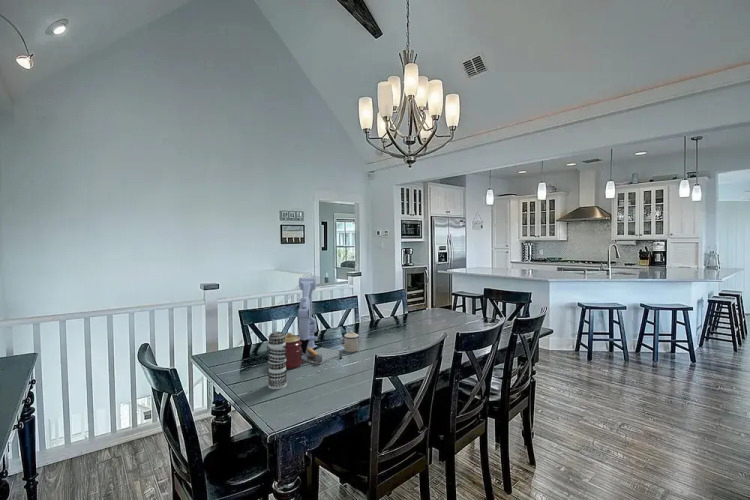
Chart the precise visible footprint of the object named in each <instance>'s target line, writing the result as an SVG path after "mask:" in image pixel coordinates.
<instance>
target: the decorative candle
mask: <svg viewBox="0 0 750 500" xmlns="http://www.w3.org/2000/svg"><path fill="white" fill-rule="evenodd" d="M286 335H287V334H285V333H284V332H282V331H273V332H271V333H270V334H269V335H268V336H267V337H268V345H267V346H266V349H267V351H266V352H267V354H266V355H267V362H268V372H267V373H268V375H267V378H268V379H267V380H268V382H267V384H268V388H269V389H271V390H279V389H280V390H281V389H284V388H285V387H286V386H287V385H288V384H287V381H288V379H287V378H288V377H287V371H288V369H287V368H286V366H285V362H286V358H287V357H286V356H285V355H286V354H287V352H285V351H287V349H286V347H287V345H286V342H285V336H286Z"/></svg>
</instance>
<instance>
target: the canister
mask: <svg viewBox="0 0 750 500" xmlns="http://www.w3.org/2000/svg"><path fill="white" fill-rule="evenodd" d="M285 335H286V336H285V342H286V345H287V347H286V349H287V351H285V352H287V354H286V355H285V356H286V357H287V358H286V362H285V366H286V369H296V368H298V367H301V365H302V364H303V361H302V356H303V355H302V354H303V351H302V348H301V344H302V342H301V341H300V337H298V336H299V335H296V334H293V333H292V332H287V334H285Z"/></svg>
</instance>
